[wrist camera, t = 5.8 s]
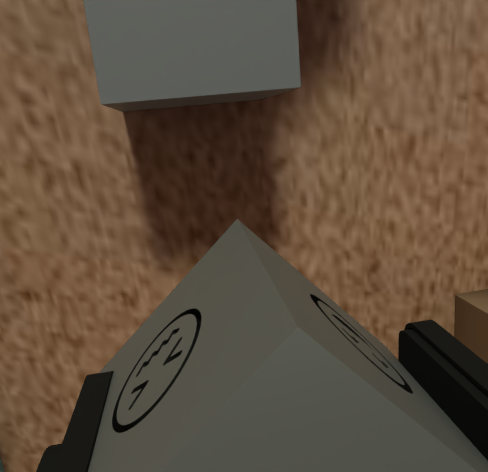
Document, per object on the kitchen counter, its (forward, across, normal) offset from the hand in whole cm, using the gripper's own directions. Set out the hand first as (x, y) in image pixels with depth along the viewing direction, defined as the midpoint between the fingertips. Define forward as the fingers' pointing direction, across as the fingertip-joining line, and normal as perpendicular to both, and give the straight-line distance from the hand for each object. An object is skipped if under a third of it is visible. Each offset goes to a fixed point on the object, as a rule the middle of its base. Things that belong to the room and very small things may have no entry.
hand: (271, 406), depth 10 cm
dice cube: (+1, 0, -1) cm, 1 cm away
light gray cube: (+8, +1, -9) cm, 12 cm away
